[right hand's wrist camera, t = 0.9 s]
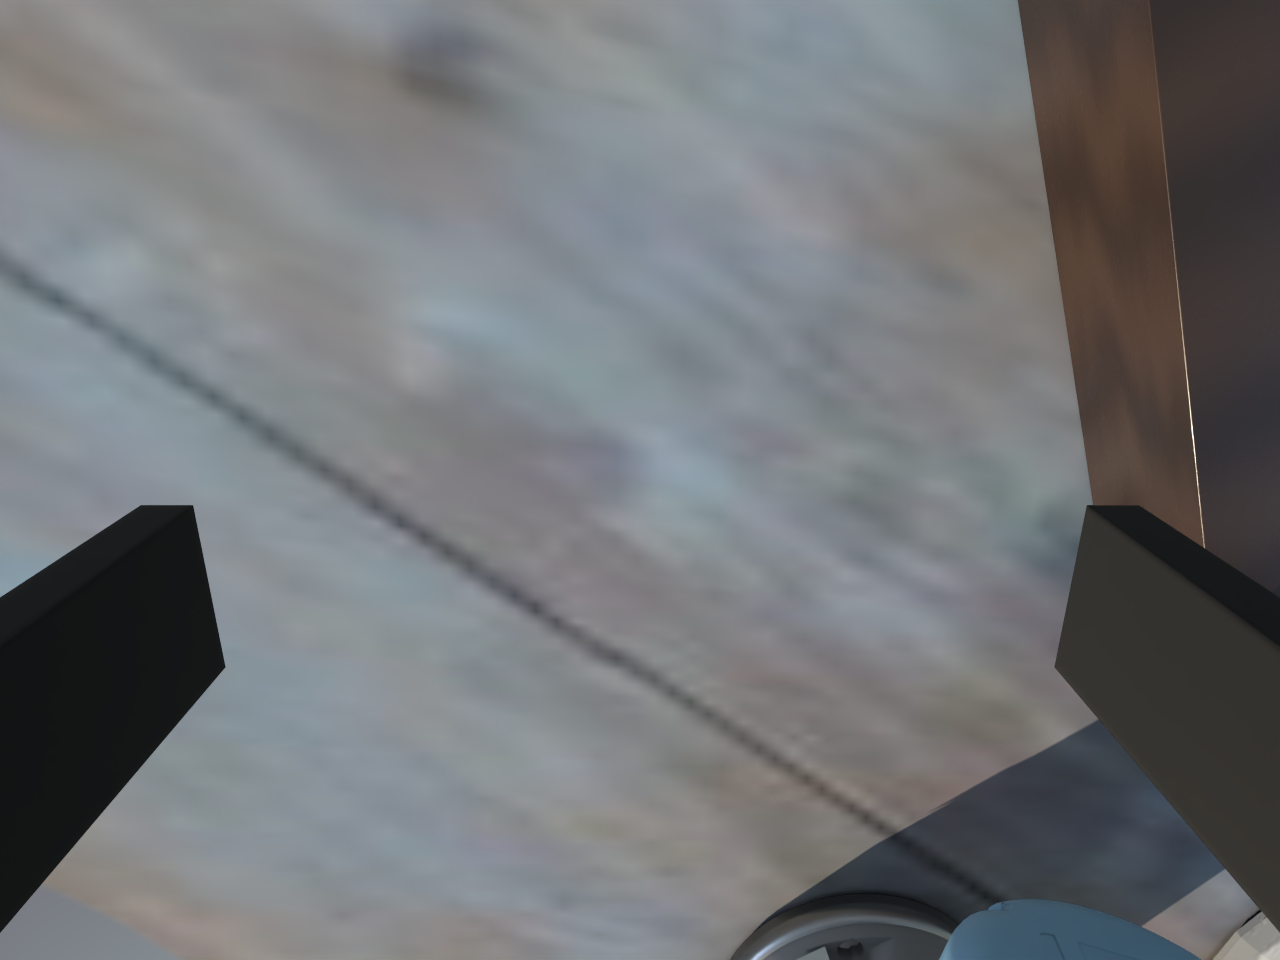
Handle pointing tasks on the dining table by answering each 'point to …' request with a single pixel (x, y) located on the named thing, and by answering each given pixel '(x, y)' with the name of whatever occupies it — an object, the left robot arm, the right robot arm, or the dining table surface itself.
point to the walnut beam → (1170, 254)
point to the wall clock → (1253, 942)
